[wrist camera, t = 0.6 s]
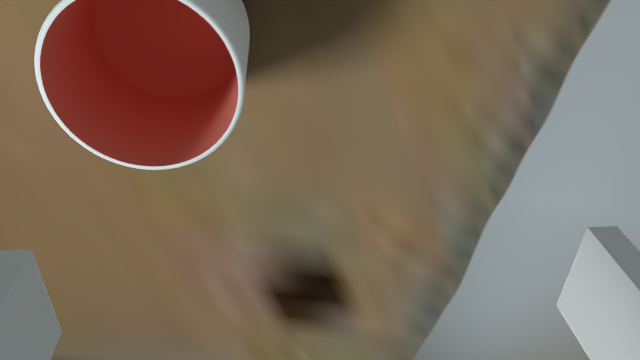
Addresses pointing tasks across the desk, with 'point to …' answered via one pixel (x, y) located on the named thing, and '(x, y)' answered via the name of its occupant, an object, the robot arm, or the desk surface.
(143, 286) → the desk surface
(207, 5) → the cup
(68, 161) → the desk surface
